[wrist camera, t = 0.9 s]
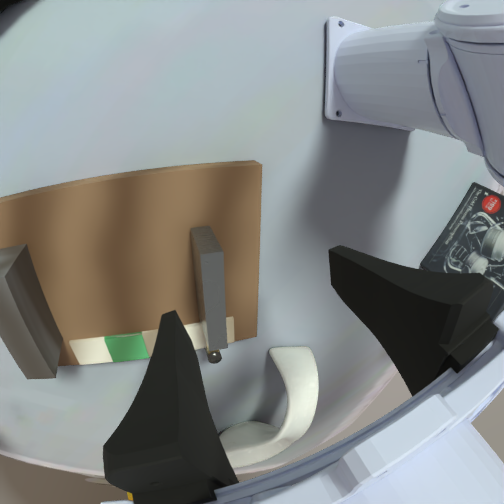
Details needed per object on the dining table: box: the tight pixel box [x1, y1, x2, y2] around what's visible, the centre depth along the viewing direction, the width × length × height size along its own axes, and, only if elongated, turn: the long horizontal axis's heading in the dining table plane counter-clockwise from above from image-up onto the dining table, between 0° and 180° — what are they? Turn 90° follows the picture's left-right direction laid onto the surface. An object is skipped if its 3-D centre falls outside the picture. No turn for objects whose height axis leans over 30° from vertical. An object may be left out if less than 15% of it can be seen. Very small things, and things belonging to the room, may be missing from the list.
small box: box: [421, 182, 504, 323], centre depth 26 cm, size 13×7×12 cm, turn 142°
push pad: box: [190, 226, 228, 364], centre depth 19 cm, size 1×10×4 cm, turn 0°
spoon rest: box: [219, 346, 319, 468], centre depth 30 cm, size 24×12×7 cm, turn 163°
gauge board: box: [0, 160, 262, 379], centre depth 17 cm, size 18×14×6 cm
